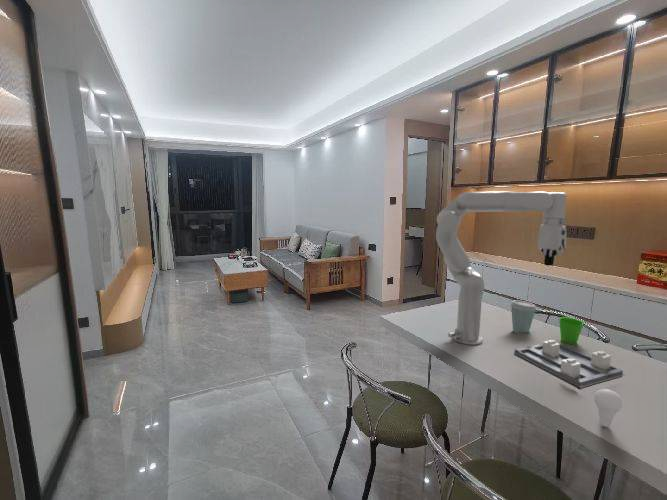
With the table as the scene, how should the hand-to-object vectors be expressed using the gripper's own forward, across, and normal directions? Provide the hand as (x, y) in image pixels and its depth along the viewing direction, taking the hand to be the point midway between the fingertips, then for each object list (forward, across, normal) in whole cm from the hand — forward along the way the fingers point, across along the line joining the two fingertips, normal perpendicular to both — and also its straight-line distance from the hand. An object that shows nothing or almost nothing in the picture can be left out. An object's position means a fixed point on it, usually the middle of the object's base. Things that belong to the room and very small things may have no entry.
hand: (548, 265), depth 143 cm
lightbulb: (+35, -46, +33) cm, 67 cm away
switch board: (+35, -18, +10) cm, 41 cm away
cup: (+35, -6, -9) cm, 37 cm away
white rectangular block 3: (+34, -25, +2) cm, 42 cm away
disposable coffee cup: (+35, +11, -1) cm, 37 cm away
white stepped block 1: (+34, -12, +10) cm, 37 cm away
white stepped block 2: (+34, -25, +18) cm, 46 cm away
